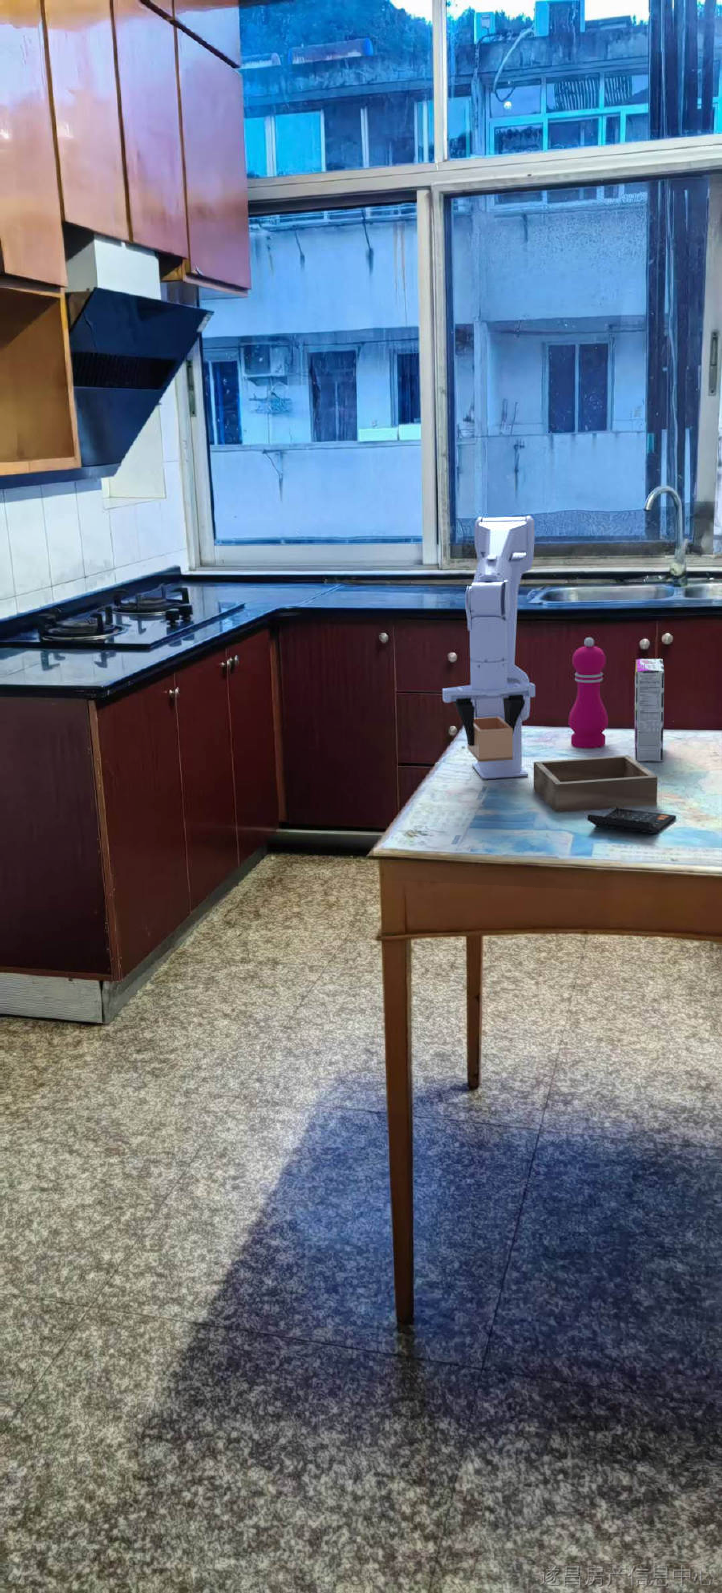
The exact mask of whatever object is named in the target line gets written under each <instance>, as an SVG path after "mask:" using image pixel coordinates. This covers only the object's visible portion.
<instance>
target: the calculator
mask: <svg viewBox="0 0 722 1593" xmlns="http://www.w3.org/2000/svg"><path fill="white" fill-rule="evenodd" d="M676 820H677V815H675V814H668V813H660V812H651V811H646V810H645V811H644V810H638V809H637V810H636V809H630V808H629V809H628V808H613V810H611V811H610V812H609V813H607V814H606V815H605V816H604V815H597V814H587V817H586V821H588V822H589V823H591V824H593V825H595V826H596V827H604V828H611V829H618V830H626V831H634V832H639V833H648V834H654V835H658V834H660V832H661V831H663V830H664V829H666V828H667V827H669V825H671V824H672V823H673V822H674V821H676Z"/></svg>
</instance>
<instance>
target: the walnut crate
mask: <svg viewBox="0 0 722 1593" xmlns="http://www.w3.org/2000/svg"><path fill="white" fill-rule="evenodd" d="M533 789H534V791H535V792H536V793H537V794H539V795H540V796H539V797H541V798H542V799H543V800H544V801H545V802H546V803H547V805H549V806H550V808H552V809H553V810H554V812H555V813H567V812H579V811H581V812H582V811H594V810H607V809H616V808H622V809H624V808H634V807H635V808H636V807H648V806H657V805H658V776H657V775H655V774H654V773H652V772H651V771H650V770H649V769H648V768H646V767H645V766H644V765H642V764H641V763H640V762H637V761H636V759H634V758H632V757H631V756H630V755H628V754H626V755H611V756H600V757H599V756H597V757H585V758H568V759H556V760H555V759H554V760H542V761H533Z"/></svg>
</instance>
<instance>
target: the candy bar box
mask: <svg viewBox="0 0 722 1593" xmlns="http://www.w3.org/2000/svg"><path fill="white" fill-rule="evenodd" d="M634 672H635V673H634V674H635V675H634V754H635V761H637V762H638V763H661V762H663V761H664V760H663V757H664V756H663V755H664V716H665V715H664V714H665V713H664V711H665V710H664V708H665V707H664V704H665V698H664V697H665V695H664V694H665V667H664V661H663V659H662V658H638V659H635V671H634Z"/></svg>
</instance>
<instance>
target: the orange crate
mask: <svg viewBox="0 0 722 1593" xmlns="http://www.w3.org/2000/svg"><path fill="white" fill-rule="evenodd" d="M466 746H467V750H468V751H469V753H470V754H472V756H473V757H474V758H475V759H476V760H478V762H488V761H502V760H513V729H512V728H511V727H510V726H509V725H508V724H507V723H506V722H505V721H504V720H503V719H502V718H501V717H485V718H474V746H469V744H468V742H467V745H466ZM478 762H477V763H478Z"/></svg>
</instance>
